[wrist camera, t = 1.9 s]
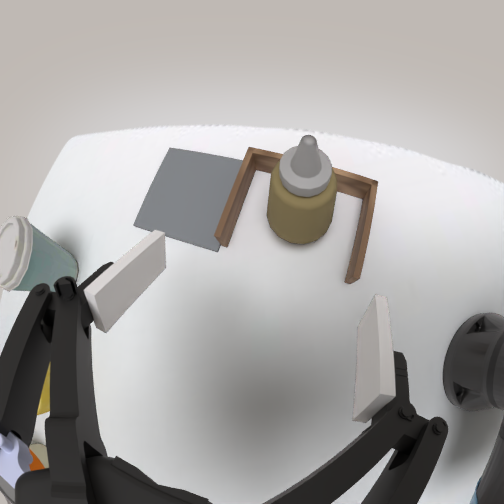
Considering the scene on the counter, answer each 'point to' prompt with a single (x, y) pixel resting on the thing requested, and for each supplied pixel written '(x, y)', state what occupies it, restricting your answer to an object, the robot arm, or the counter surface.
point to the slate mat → (189, 196)
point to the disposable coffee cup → (31, 257)
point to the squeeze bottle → (302, 193)
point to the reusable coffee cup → (38, 463)
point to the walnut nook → (345, 184)
